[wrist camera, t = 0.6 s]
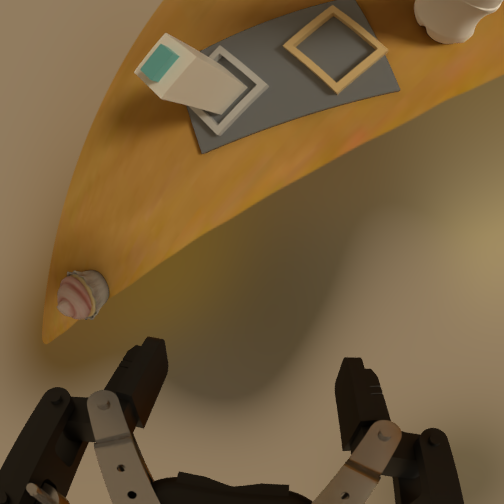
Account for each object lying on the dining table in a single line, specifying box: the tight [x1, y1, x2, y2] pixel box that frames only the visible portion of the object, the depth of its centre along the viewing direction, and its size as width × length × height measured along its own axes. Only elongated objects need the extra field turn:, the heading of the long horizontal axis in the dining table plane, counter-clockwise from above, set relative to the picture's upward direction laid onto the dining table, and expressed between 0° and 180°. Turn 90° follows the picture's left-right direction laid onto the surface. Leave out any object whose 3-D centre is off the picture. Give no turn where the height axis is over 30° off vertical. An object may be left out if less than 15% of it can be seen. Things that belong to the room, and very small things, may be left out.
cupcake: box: [57, 270, 109, 320], centre depth 43 cm, size 9×9×10 cm
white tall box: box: [134, 33, 248, 115], centre depth 24 cm, size 4×4×13 cm
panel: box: [186, 0, 400, 154], centre depth 27 cm, size 13×25×2 cm, turn 109°
